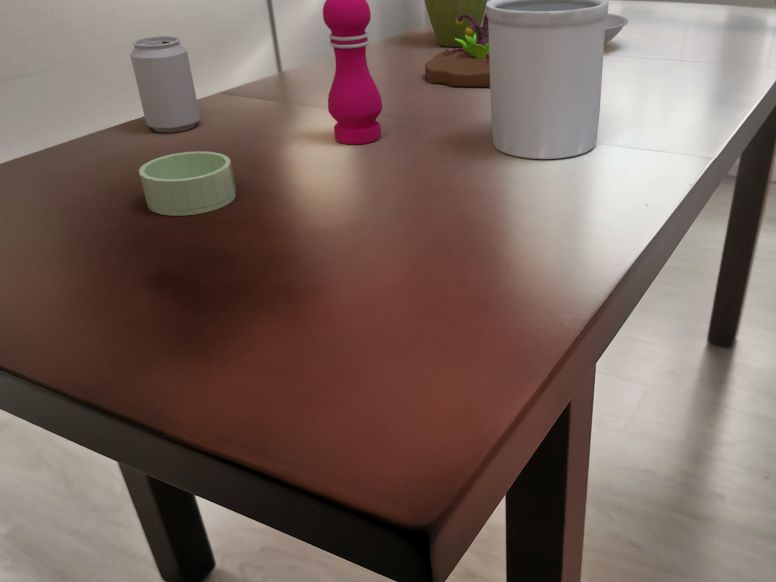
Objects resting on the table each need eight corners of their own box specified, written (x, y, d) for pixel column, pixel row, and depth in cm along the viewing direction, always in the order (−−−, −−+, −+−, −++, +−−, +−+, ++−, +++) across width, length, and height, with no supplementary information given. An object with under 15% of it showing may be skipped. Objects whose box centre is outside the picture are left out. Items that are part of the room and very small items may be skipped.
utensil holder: (464, 148, 105) (461, 4, 96) (527, 120, 115) (529, -13, 106) (560, 169, 98) (567, 15, 88) (619, 138, 108) (631, -4, 98)
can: (208, 127, 116) (191, 39, 109) (156, 137, 112) (135, 47, 106) (191, 116, 121) (174, 31, 115) (141, 125, 118) (120, 38, 111)
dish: (617, 60, 146) (619, 31, 144) (540, 56, 150) (541, 27, 148) (632, 40, 160) (634, 14, 158) (561, 37, 164) (562, 11, 162)
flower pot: (436, 34, 170) (433, -50, 161) (503, 38, 165) (504, -49, 157) (408, 49, 158) (403, -41, 149) (480, 53, 154) (479, -40, 145)
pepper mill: (336, 130, 113) (319, -26, 103) (387, 129, 113) (376, -27, 103) (327, 146, 107) (308, -18, 97) (381, 145, 107) (368, -19, 96)
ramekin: (152, 222, 86) (143, 186, 84) (143, 192, 94) (134, 159, 92) (244, 206, 90) (237, 171, 88) (227, 178, 97) (221, 146, 95)
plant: (521, 92, 128) (522, 17, 122) (410, 83, 135) (406, 12, 129) (557, 64, 144) (559, -3, 138) (456, 58, 150) (454, -7, 145)
